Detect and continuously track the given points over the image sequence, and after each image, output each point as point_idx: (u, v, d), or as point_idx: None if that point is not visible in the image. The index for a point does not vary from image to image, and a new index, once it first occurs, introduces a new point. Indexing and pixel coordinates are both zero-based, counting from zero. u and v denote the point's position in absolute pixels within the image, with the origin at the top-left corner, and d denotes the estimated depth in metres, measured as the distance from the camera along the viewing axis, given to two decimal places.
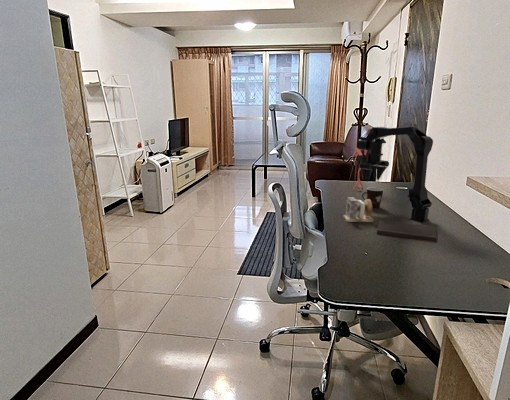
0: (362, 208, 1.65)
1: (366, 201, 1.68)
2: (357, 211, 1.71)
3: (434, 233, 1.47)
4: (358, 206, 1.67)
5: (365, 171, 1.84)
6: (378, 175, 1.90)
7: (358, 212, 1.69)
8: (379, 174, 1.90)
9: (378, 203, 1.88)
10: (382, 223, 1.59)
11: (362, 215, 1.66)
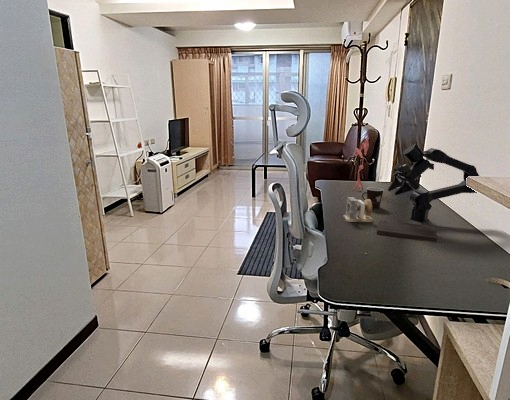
0: (362, 208, 1.65)
1: (366, 201, 1.68)
2: (357, 211, 1.71)
3: (434, 233, 1.47)
4: (358, 206, 1.67)
5: (404, 186, 1.61)
6: (392, 187, 1.70)
7: (358, 212, 1.69)
8: (394, 187, 1.70)
9: (378, 203, 1.88)
10: (382, 223, 1.59)
11: (362, 215, 1.65)
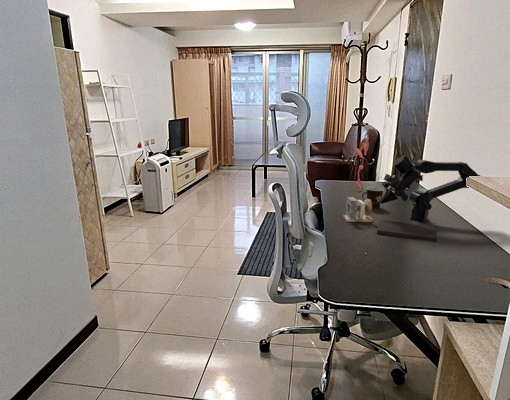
0: (362, 208, 1.65)
1: (366, 201, 1.68)
2: (357, 211, 1.71)
3: (434, 233, 1.47)
4: (358, 206, 1.67)
5: (389, 195, 1.65)
6: None
7: (358, 212, 1.69)
8: None
9: (378, 203, 1.88)
10: (382, 223, 1.59)
11: (362, 215, 1.65)
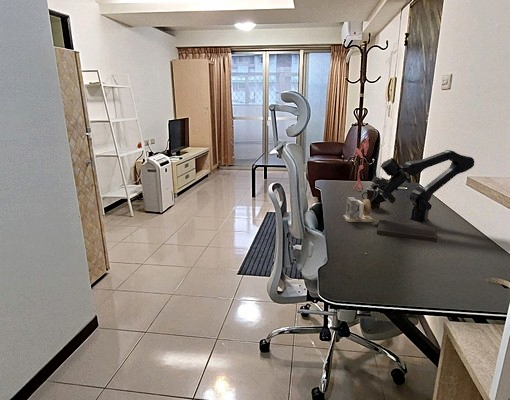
0: (361, 208, 1.65)
1: (365, 201, 1.68)
2: None
3: (434, 233, 1.47)
4: (357, 206, 1.67)
5: (377, 197, 1.65)
6: None
7: (357, 212, 1.69)
8: None
9: (378, 203, 1.88)
10: (382, 223, 1.59)
11: (361, 215, 1.65)
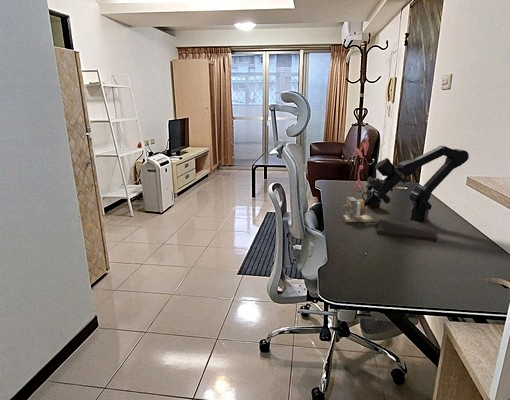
0: (358, 208, 1.65)
1: (359, 201, 1.68)
2: None
3: (434, 233, 1.47)
4: None
5: (372, 197, 1.65)
6: None
7: None
8: None
9: (378, 203, 1.88)
10: (382, 223, 1.59)
11: (358, 215, 1.65)
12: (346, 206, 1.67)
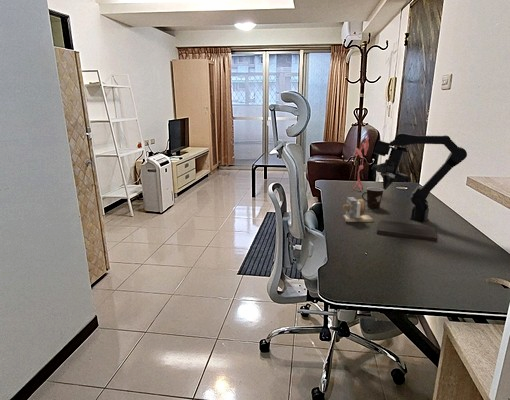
0: (358, 208, 1.65)
1: (359, 201, 1.68)
2: None
3: (434, 233, 1.47)
4: None
5: (389, 180, 1.71)
6: None
7: None
8: None
9: (378, 203, 1.88)
10: (382, 223, 1.59)
11: (358, 215, 1.65)
12: (346, 206, 1.67)
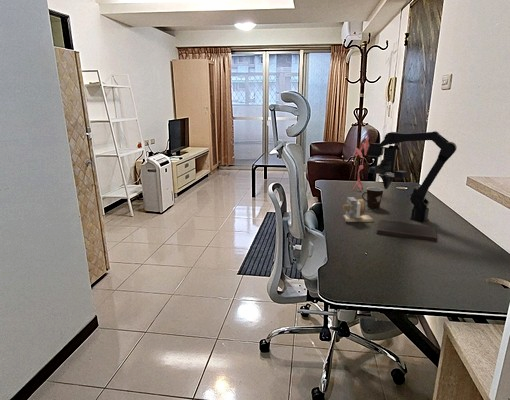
0: (358, 208, 1.65)
1: (359, 201, 1.68)
2: None
3: (434, 233, 1.47)
4: None
5: None
6: None
7: None
8: None
9: (378, 203, 1.88)
10: (382, 223, 1.59)
11: (358, 215, 1.65)
12: (346, 206, 1.67)
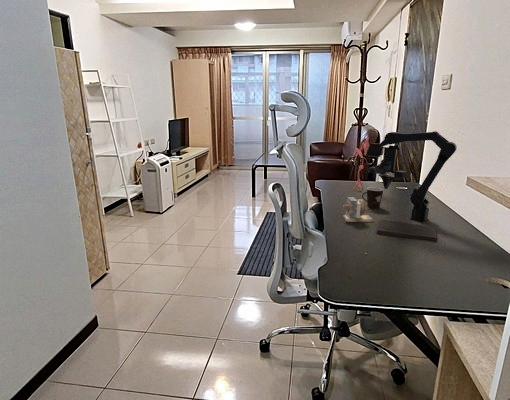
0: (358, 208, 1.65)
1: (359, 201, 1.68)
2: None
3: (434, 233, 1.47)
4: None
5: None
6: None
7: None
8: None
9: (378, 203, 1.88)
10: (382, 223, 1.59)
11: (358, 215, 1.65)
12: (346, 206, 1.67)
